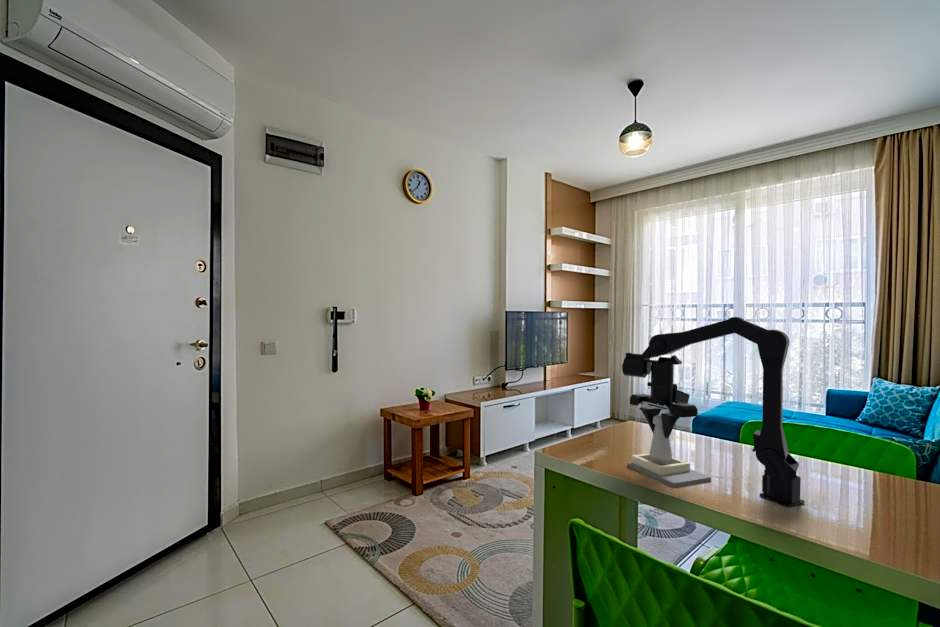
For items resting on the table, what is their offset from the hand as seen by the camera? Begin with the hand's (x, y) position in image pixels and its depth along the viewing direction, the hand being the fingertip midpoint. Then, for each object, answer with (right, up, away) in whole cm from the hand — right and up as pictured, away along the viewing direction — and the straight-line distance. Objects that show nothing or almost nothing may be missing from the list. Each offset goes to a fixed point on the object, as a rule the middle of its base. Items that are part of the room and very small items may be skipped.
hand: (661, 436), depth 118 cm
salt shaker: (0, -8, 0) cm, 8 cm away
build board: (+1, -9, -2) cm, 10 cm away
